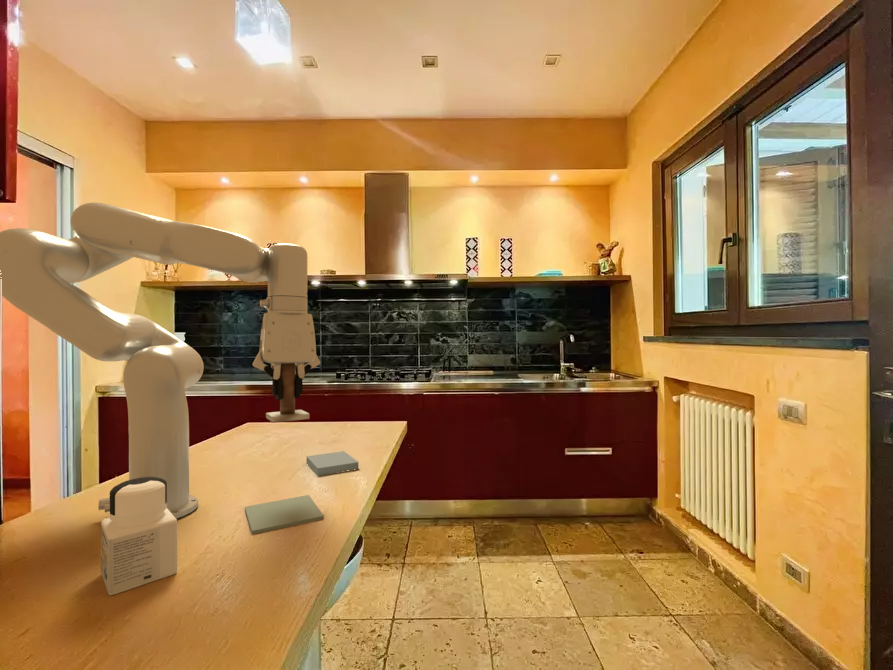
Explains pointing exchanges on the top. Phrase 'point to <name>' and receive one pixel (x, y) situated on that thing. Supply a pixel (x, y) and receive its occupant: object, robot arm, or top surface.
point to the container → (138, 535)
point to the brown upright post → (287, 398)
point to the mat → (282, 514)
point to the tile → (331, 463)
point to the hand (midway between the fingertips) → (287, 397)
